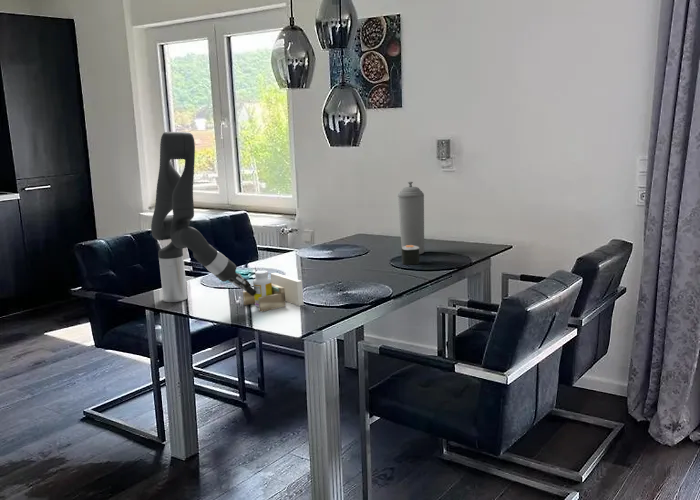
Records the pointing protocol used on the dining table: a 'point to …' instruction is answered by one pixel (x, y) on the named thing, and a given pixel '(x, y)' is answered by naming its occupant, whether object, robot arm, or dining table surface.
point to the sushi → (410, 255)
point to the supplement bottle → (262, 285)
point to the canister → (412, 217)
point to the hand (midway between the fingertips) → (253, 293)
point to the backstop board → (289, 288)
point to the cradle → (268, 299)
